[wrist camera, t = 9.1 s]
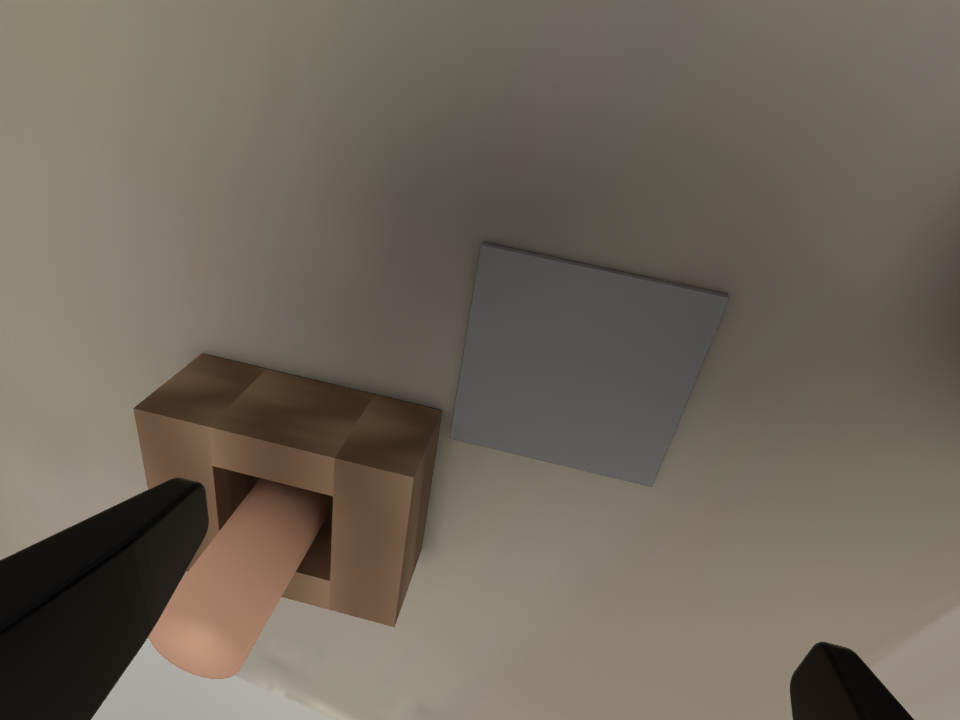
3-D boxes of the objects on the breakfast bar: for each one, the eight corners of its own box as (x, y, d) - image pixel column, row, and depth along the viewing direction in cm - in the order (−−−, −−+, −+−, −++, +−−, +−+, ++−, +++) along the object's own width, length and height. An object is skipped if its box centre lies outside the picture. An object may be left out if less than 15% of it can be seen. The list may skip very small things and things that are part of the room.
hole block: (441, 410, 23) (413, 477, 19) (420, 550, 27) (394, 627, 23) (202, 353, 23) (133, 408, 20) (216, 498, 27) (161, 564, 24)
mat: (727, 294, 18) (729, 298, 18) (651, 481, 22) (652, 486, 22) (482, 242, 19) (481, 244, 19) (451, 433, 23) (449, 438, 23)
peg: (354, 439, 24) (239, 628, 16) (351, 492, 26) (244, 688, 18) (286, 422, 24) (140, 601, 17) (287, 476, 26) (154, 663, 18)
